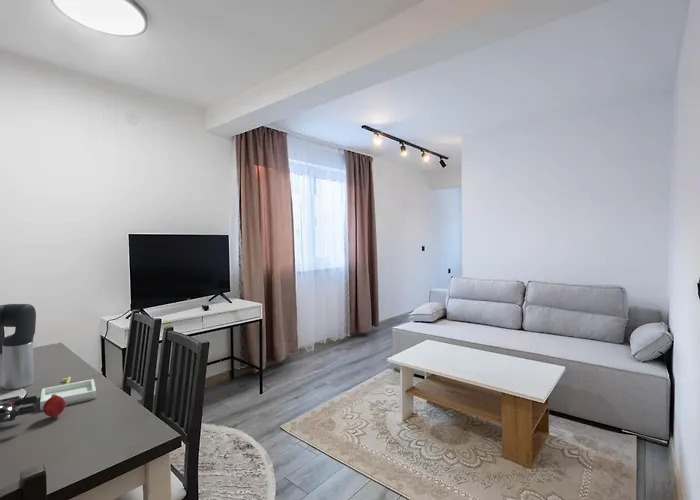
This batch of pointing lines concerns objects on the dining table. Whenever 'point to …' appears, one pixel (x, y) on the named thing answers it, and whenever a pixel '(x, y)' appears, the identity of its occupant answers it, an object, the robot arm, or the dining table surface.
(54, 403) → the onion
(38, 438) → the dining table surface
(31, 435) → the dining table surface
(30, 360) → the robot arm
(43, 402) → the tray
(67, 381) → the key
